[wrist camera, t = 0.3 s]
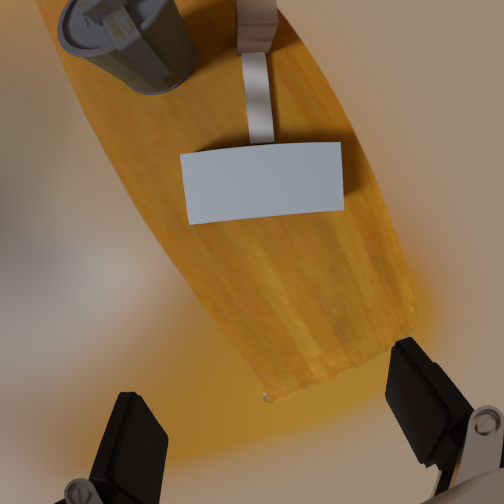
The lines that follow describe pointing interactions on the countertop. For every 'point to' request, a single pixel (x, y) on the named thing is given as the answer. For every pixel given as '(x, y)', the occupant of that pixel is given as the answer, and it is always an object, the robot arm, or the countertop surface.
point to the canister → (130, 41)
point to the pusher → (256, 62)
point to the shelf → (262, 181)
